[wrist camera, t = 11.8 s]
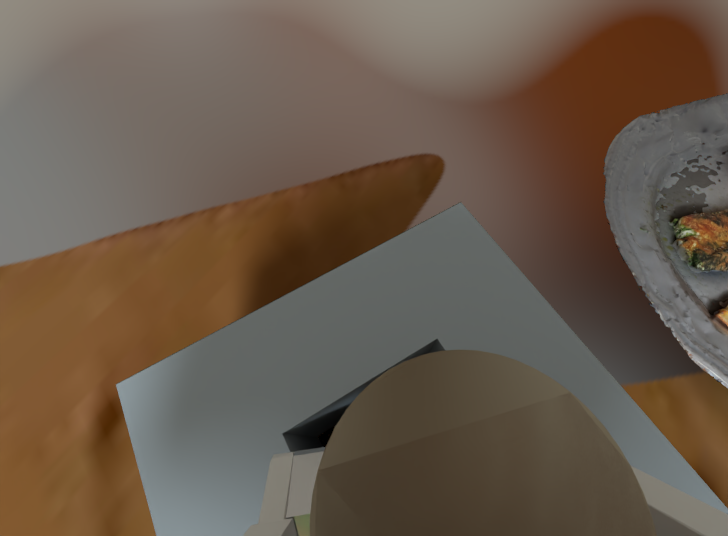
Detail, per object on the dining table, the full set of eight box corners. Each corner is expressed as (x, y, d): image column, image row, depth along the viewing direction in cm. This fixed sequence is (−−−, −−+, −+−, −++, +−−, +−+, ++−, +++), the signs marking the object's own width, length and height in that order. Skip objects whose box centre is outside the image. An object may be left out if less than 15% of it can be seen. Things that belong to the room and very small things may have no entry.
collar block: (432, 275, 22) (462, 195, 15) (616, 523, 16) (809, 589, 9) (207, 404, 19) (106, 381, 12) (338, 759, 13) (299, 1130, 6)
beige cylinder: (421, 387, 14) (502, 300, 5) (484, 488, 13) (747, 601, 4) (333, 444, 14) (255, 451, 5) (390, 558, 12) (439, 911, 3)
